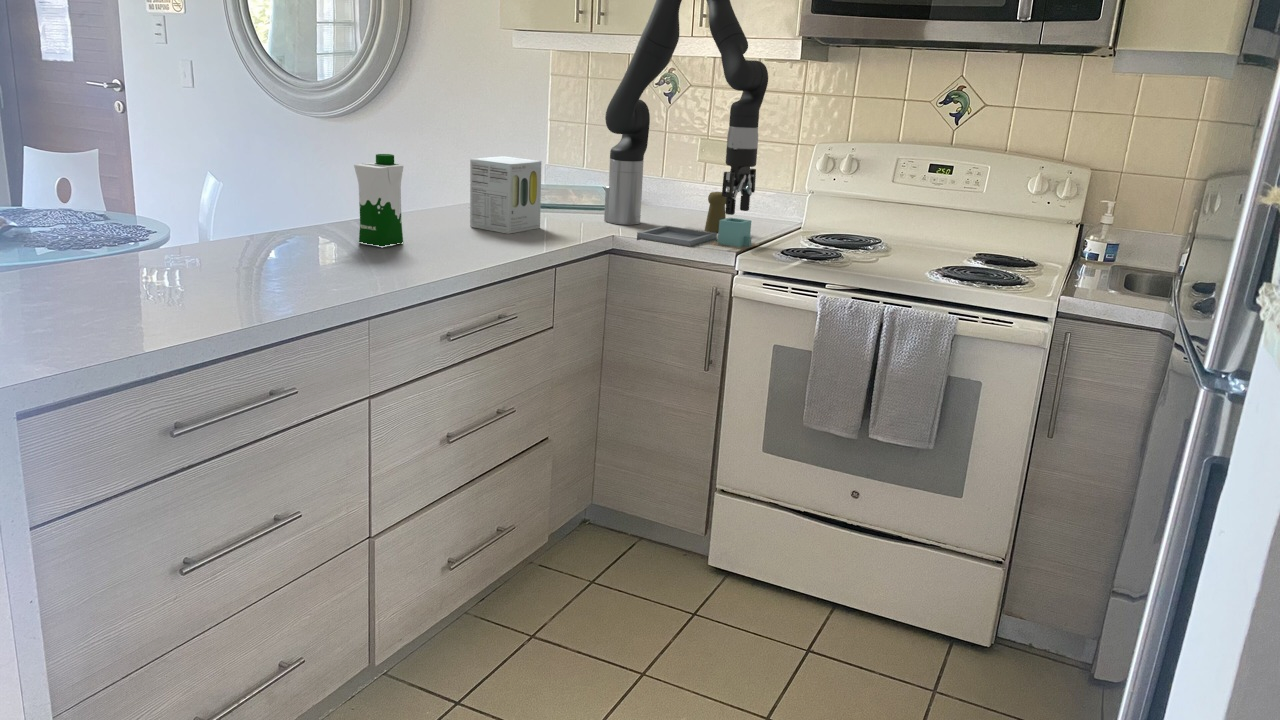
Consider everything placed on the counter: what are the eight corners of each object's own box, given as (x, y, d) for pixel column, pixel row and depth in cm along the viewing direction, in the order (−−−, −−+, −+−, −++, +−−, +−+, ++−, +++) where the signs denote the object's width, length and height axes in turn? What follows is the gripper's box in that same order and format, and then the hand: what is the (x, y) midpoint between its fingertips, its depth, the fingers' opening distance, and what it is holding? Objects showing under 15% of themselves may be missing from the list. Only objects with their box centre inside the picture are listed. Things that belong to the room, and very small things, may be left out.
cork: (718, 235, 249) (721, 194, 245) (699, 232, 252) (702, 191, 249) (730, 233, 253) (734, 192, 250) (711, 230, 257) (715, 189, 253)
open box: (717, 243, 234) (719, 220, 232) (727, 240, 239) (729, 217, 237) (744, 248, 231) (747, 224, 229) (754, 245, 236) (756, 221, 234)
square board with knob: (706, 246, 234) (708, 224, 232) (724, 240, 242) (725, 219, 240) (743, 252, 229) (745, 229, 227) (759, 246, 237) (761, 224, 236)
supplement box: (509, 234, 235) (509, 163, 229) (469, 227, 241) (468, 158, 236) (541, 228, 246) (542, 160, 240) (502, 221, 252) (503, 155, 247)
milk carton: (409, 243, 217) (407, 156, 210) (381, 249, 209) (378, 158, 203) (380, 238, 220) (377, 152, 214) (352, 244, 213) (348, 154, 207)
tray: (636, 240, 236) (637, 232, 236) (665, 232, 249) (666, 225, 248) (689, 249, 229) (689, 240, 229) (716, 240, 242) (716, 233, 241)
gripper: (740, 143, 236) (735, 208, 240) (715, 146, 224) (710, 213, 229) (767, 145, 232) (762, 211, 237) (744, 148, 220) (738, 217, 225)
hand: (737, 212), depth 233 cm, fingers open, 8 cm apart
